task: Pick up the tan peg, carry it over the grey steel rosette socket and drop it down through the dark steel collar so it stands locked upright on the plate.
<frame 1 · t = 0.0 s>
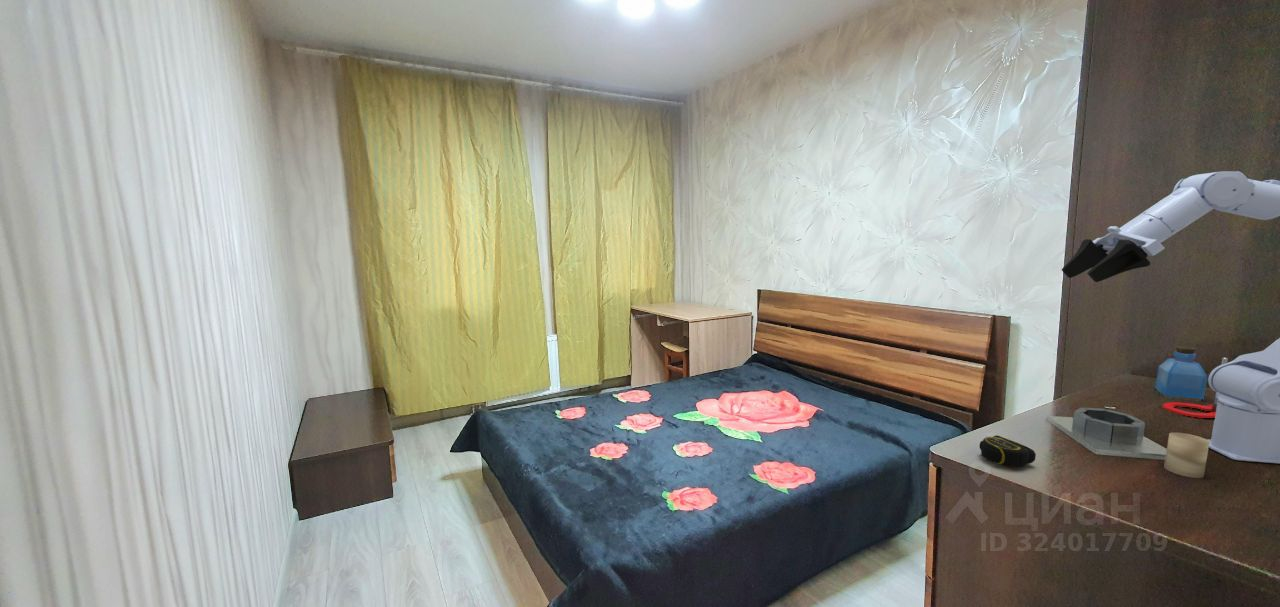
hand: (1078, 275, 87), 32 cm above the dresser, fingers open, 7 cm apart
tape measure: (1003, 462, 84), on the dresser
rosette socket: (1105, 438, 92), on the dresser
tow hook: (1193, 413, 103), on the dresser
tan peg: (1183, 471, 79), on the dresser
perfume bottle: (1177, 396, 113), on the dresser
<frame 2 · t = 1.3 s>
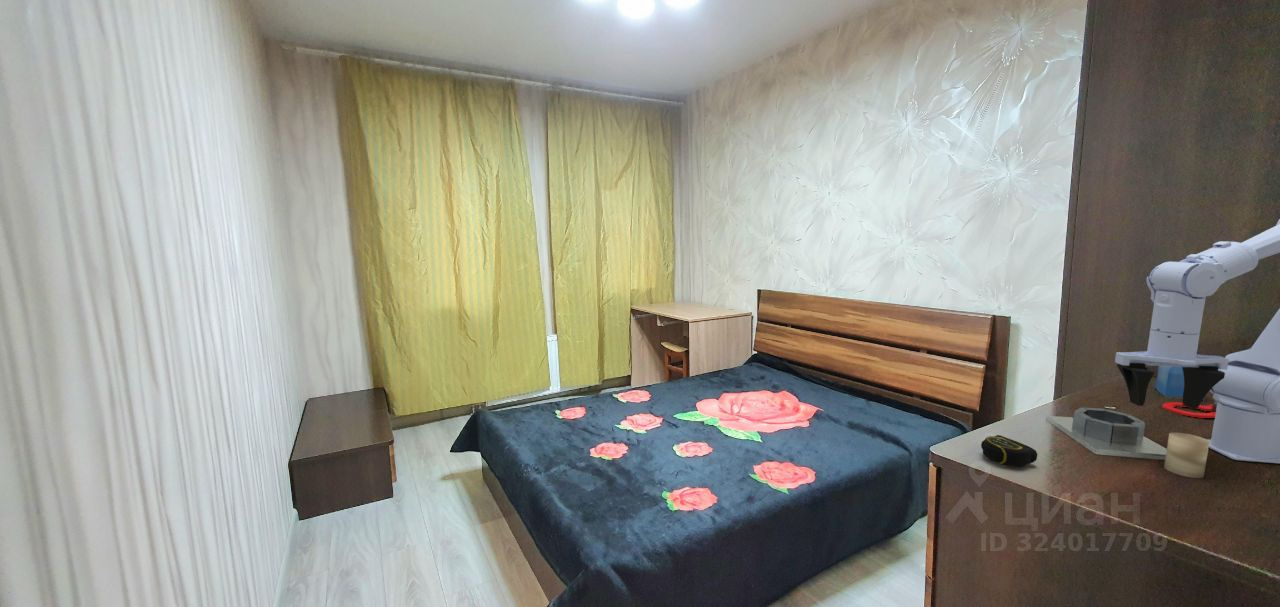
hand: (1162, 405, 83), 9 cm above the dresser, fingers open, 7 cm apart
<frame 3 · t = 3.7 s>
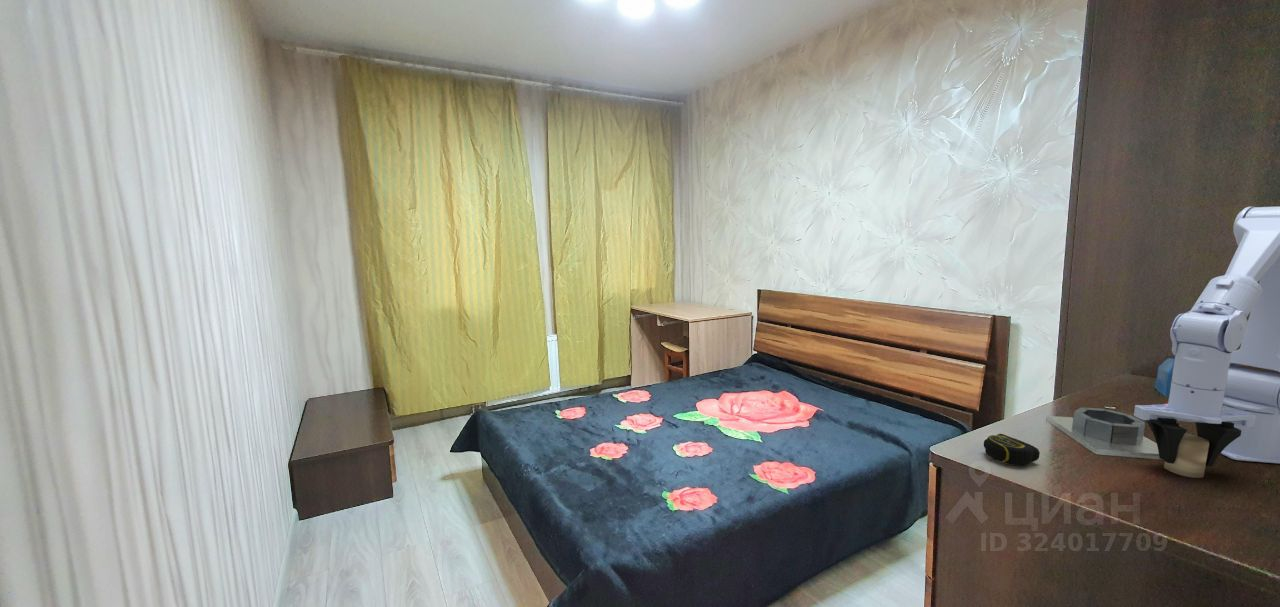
hand: (1184, 462, 79), 2 cm above the dresser, fingers closed on tan peg, 4 cm apart
tan peg: (1183, 471, 79), on the dresser, touching gripper
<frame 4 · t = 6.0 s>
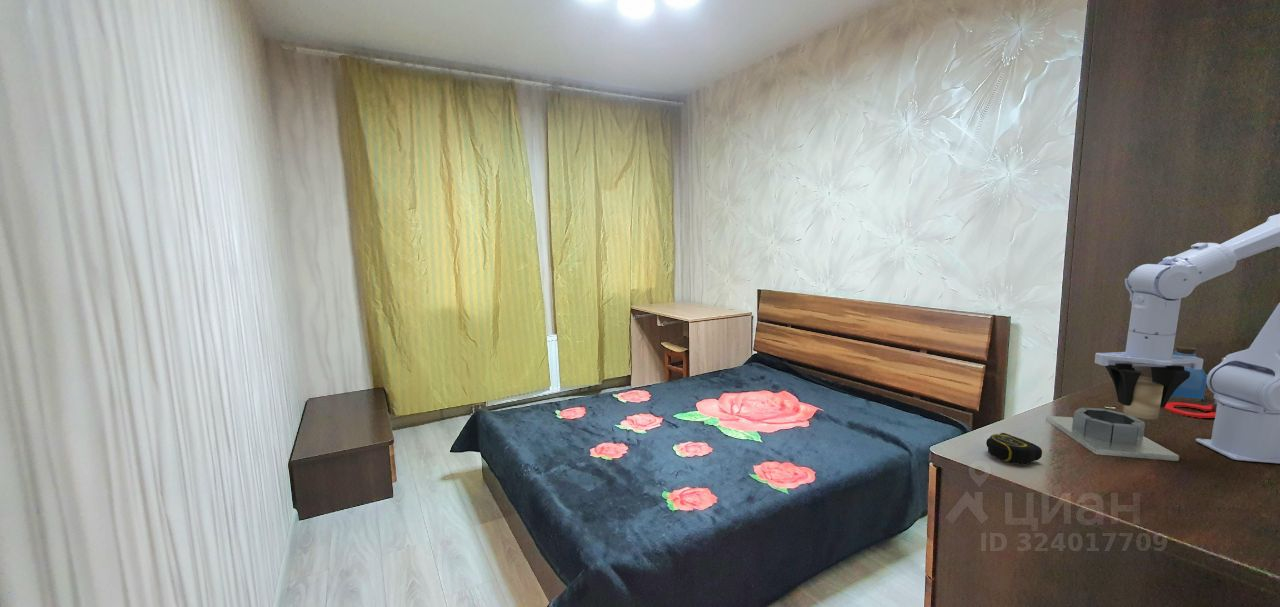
hand: (1140, 404, 85), 9 cm above the dresser, fingers closed on tan peg, 4 cm apart
tan peg: (1140, 414, 85), point 7 cm above the dresser, touching gripper
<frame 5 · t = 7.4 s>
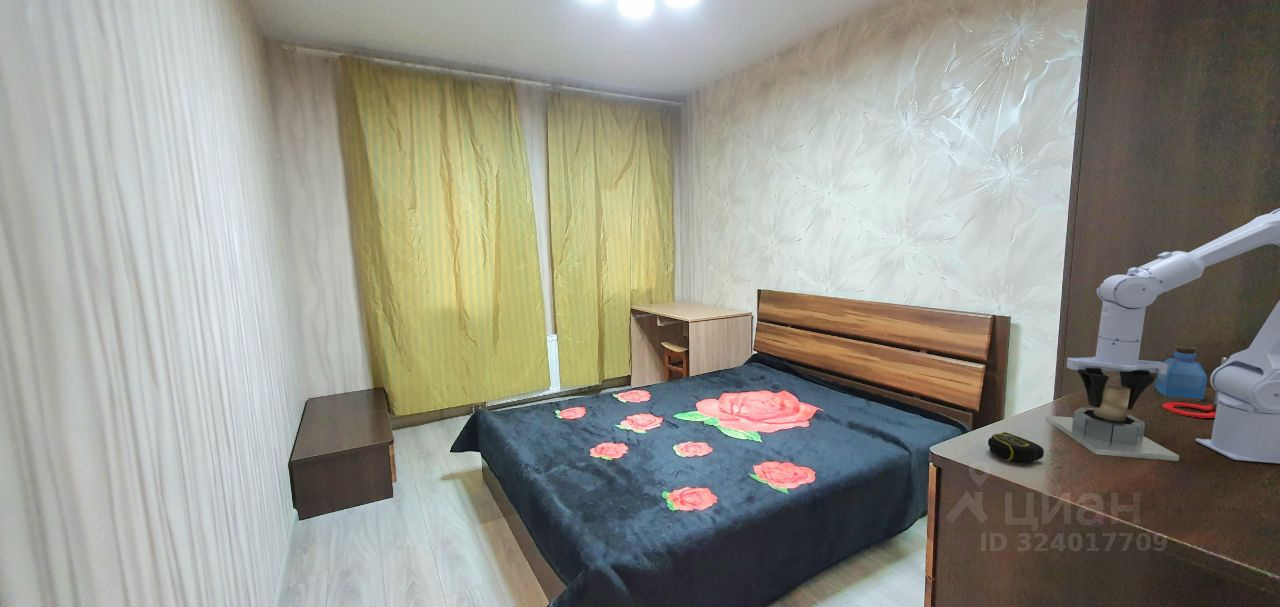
hand: (1109, 406, 91), 7 cm above the dresser, fingers closed on tan peg, 4 cm apart
tan peg: (1109, 416, 91), point 5 cm above the dresser, touching gripper
when the fingers open (5 cm above the dresser, at t = 8.5 s): tan peg drops 2 cm, resting on rosette socket.
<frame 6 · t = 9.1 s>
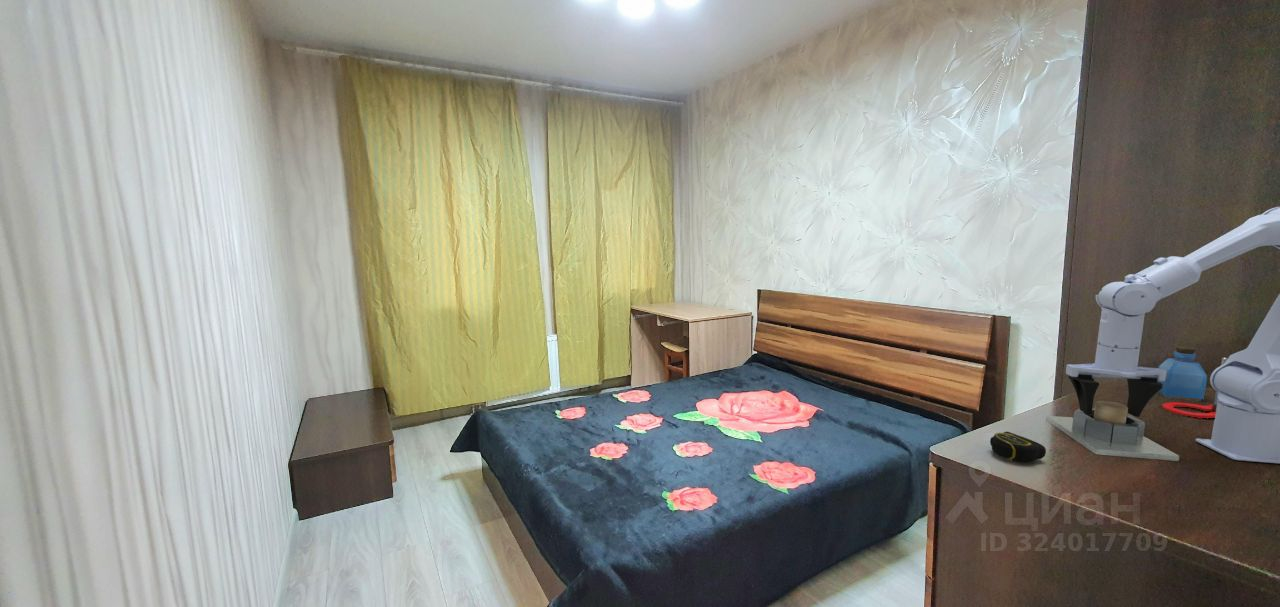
hand: (1108, 413, 91), 5 cm above the dresser, fingers open, 7 cm apart
tan peg: (1107, 434, 91), point 1 cm above the dresser, touching rosette socket
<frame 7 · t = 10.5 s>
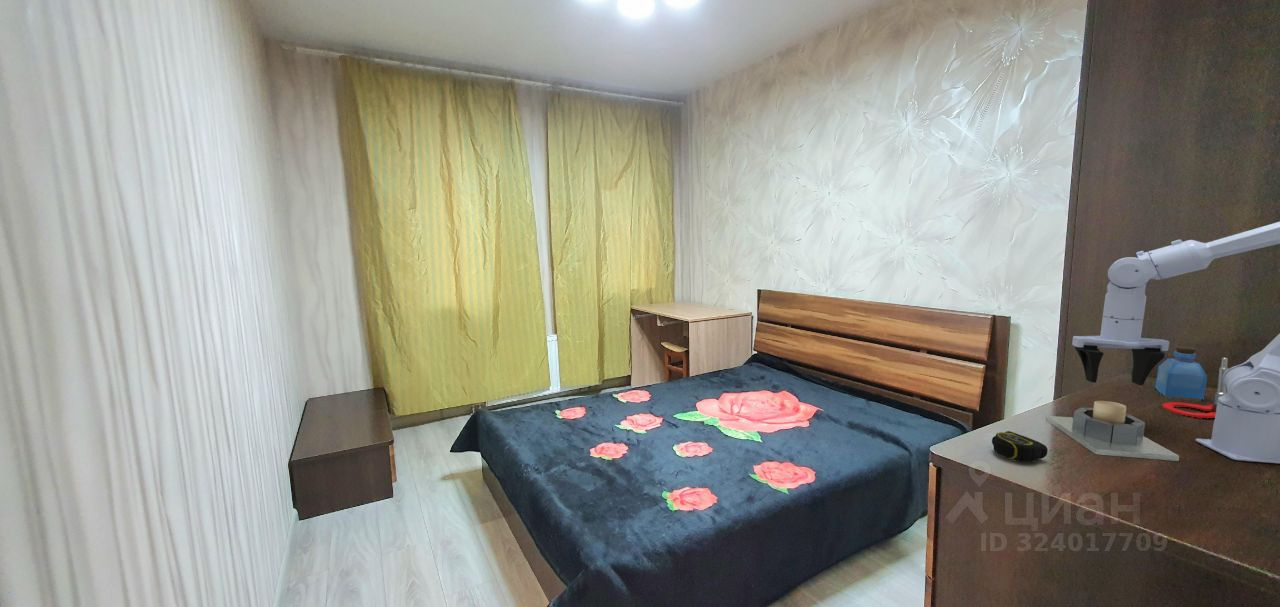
hand: (1113, 382, 96), 9 cm above the dresser, fingers open, 7 cm apart
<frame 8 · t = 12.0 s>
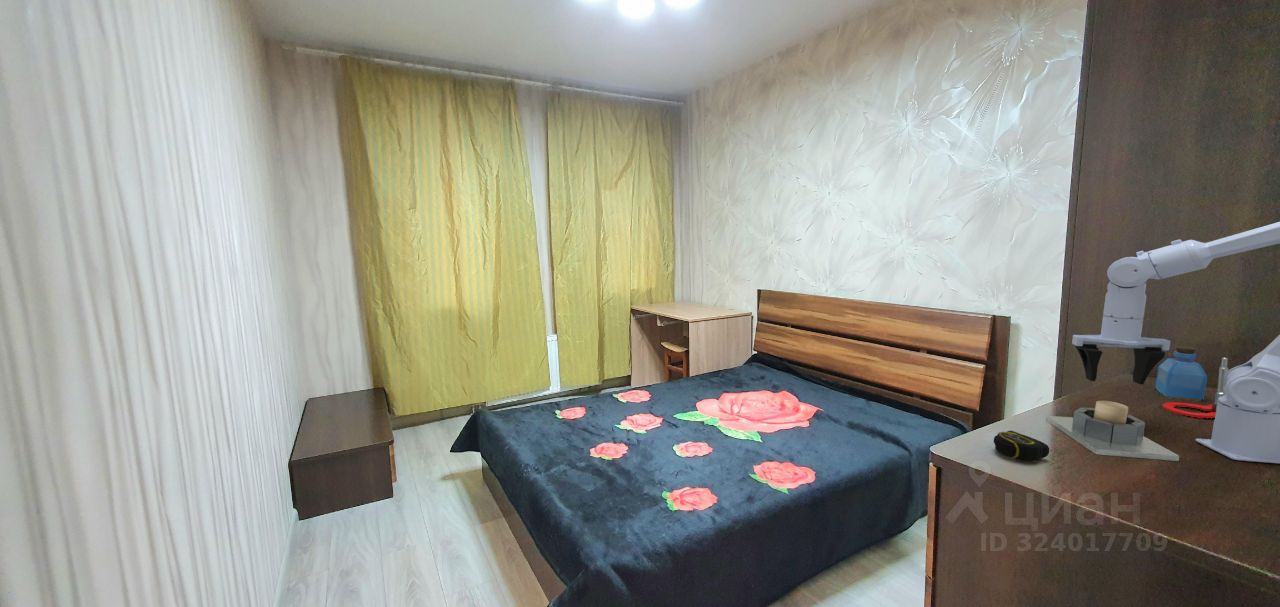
hand: (1114, 381, 97), 9 cm above the dresser, fingers open, 7 cm apart
at the end: tan peg 0.2 cm off-centre on the rosette socket, point 1.1 cm above the rosette socket's base; tan peg tilted 2°; the gripper is holding nothing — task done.
